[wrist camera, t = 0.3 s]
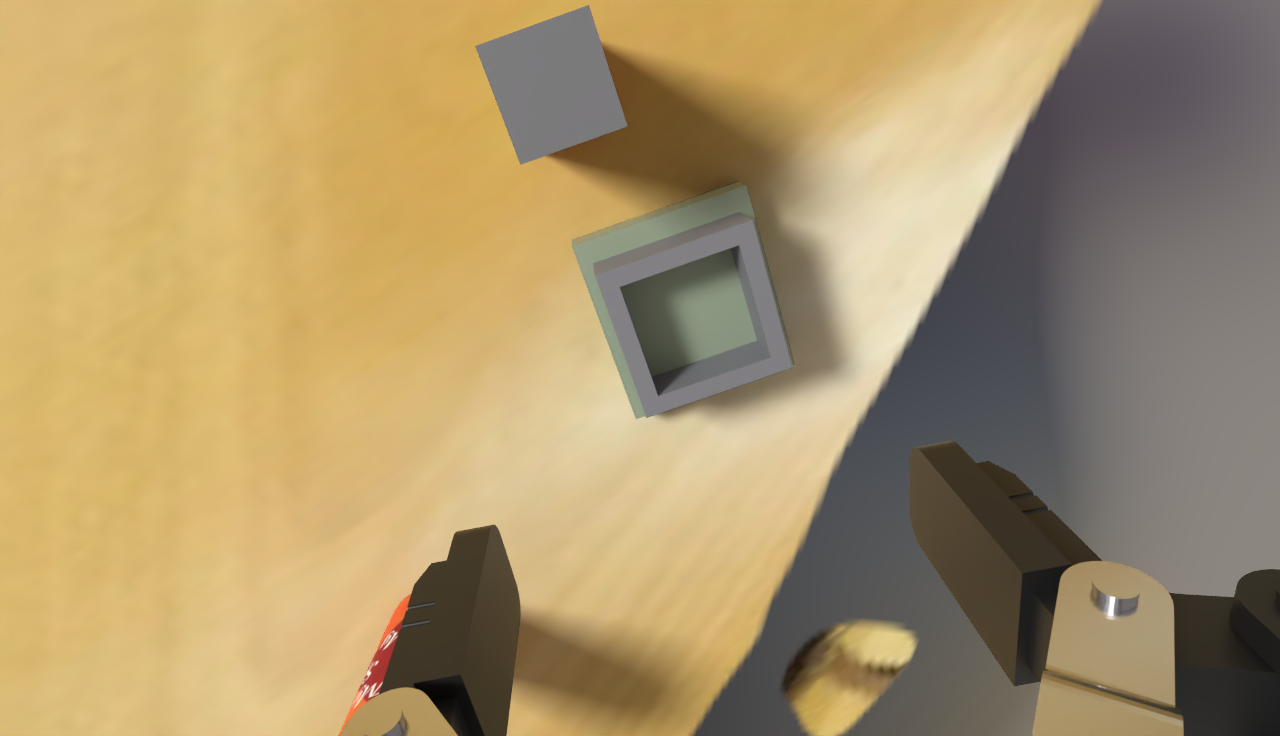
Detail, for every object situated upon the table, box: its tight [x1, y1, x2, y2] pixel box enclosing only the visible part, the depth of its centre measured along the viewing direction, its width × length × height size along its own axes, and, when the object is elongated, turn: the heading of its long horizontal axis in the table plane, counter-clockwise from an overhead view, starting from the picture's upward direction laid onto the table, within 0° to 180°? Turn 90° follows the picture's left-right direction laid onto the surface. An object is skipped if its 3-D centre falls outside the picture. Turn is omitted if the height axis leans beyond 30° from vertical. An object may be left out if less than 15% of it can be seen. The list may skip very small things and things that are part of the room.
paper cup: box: [339, 595, 411, 736], centre depth 41 cm, size 8×8×14 cm
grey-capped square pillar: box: [475, 5, 628, 164], centre depth 32 cm, size 4×4×11 cm
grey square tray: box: [572, 182, 794, 419], centre depth 39 cm, size 11×10×5 cm
